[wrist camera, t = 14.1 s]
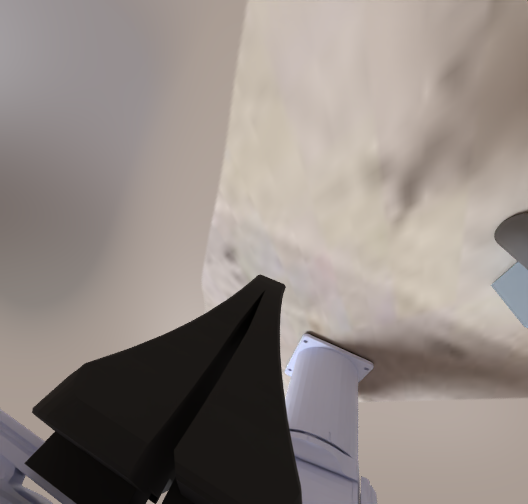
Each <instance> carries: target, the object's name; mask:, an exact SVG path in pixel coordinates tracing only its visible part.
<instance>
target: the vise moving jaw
mask: <svg viewBox="0 0 528 504" xmlns="http://www.w3.org/2000/svg"><path fill="white" fill-rule="evenodd" d="M495 240H496V242H497V243H498V244H499V245H500V246H501V247H502V248H504V249H505V250H506V251H507V252H508V253H509V254H510V255H511V256H513V257H514V258H515V259H516V260H517V261H518V262H517V263H516V264H515V265H514V266H512V267H511V268H510V269H509V270H508V271H507V272H505V273H504V274H503V275H502V276H501V277H500V278H499V279H497V280H496V281H495V282H494V283H493V284H492V285H491V286H492V287H493V289H494V290H495V291H496V292H497V294H498V295H499V296H500V297H501V299H502V300H503V301H504V302H505V304H506V305H507V306H508V307H509V309H510V310H511V311H512V312H513V314H514V315H515V316H516V317H517V319H518V320H519V321H520V322H521V324H522V325H523V326H524V327H526V328H528V213H524V214H519V215H516V216H513V217H511V218H509V219H507V220H505V221H504V222H503V223H501V224H500V225H499V226H498V228H497V229H496V231H495Z"/></svg>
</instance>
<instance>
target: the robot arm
mask: <svg viewBox="0 0 528 504" xmlns="http://www.w3.org/2000/svg"><path fill="white" fill-rule="evenodd" d="M285 288H286V287H285V285H284V284H282V283H280V282H277V281H275V280H272V279H270V278H268V277H265V276H263V275H258V276H257V277H256V278H254V279H253V280H252V281H251V282H250V283H249V284H247V285H246V286H245V287H244V288H242V289H241V290H240V291H238V292H237V293H236V294H234V295H233V296H232V297H230V298H229V299H227V300H226V301H224V302H223V303H221V304H220V305H218V306H217V307H215V308H213V309H212V310H210V311H209V312H207V313H205V314H204V315H202V316H200V317H198V318H196V319H195V320H193V321H191V322H189V323H187V324H185V325H183V326H181V327H179V328H177V329H175V330H173V331H170V332H168V333H166V334H164V335H162V336H159V337H157V338H154V339H152V340H149V341H147V342H144V343H142V344H139V345H137V346H134V347H132V348H129V349H127V350H124V351H121V352H118V353H115V354H112V355H109V356H106V357H103V358H100V359H97V360H94V361H91V362H88V363H85V364H84V365H83V366H81V367H80V368H79V369H78V370H77V371H75V372H73V373H72V374H71V375H70V376H68V377H67V378H66V379H65V380H64V381H63V382H62V383H60V384H59V385H58V386H57V387H56V388H55V389H54V390H53V391H51V392H50V393H49V394H48V395H47V396H46V397H45V398H44V399H42V400H41V401H40V402H39V403H38V404H37V405H36V406H35V407H34V408H33V411H32V413H33V414H34V415H36V416H37V417H38V418H39V419H41V420H42V421H43V422H44V423H46V424H47V425H48V426H49V427H51V428H52V429H53V430H55V432H54V433H53V434H52V435H51V436H50V438H48V439H47V440H46V441H44V440H43V439H41V438H40V437H38V436H37V435H36V434H34V433H33V432H32V431H30V430H29V429H27V428H26V427H25V426H23V425H22V424H20V423H19V422H18V421H16V420H15V419H14V418H12V417H11V416H9V415H8V414H7V413H5V412H4V411H3V410H1V409H0V504H53V503H52V502H51V501H49V500H48V499H47V498H45V497H44V496H42V495H40V494H38V493H36V492H34V491H32V490H30V489H28V488H25V487H23V486H22V482H23V480H24V478H25V475H26V476H28V477H29V478H30V479H31V480H33V481H34V482H35V483H36V484H38V485H39V486H40V487H42V488H43V489H44V490H45V491H47V492H48V493H49V494H50V495H52V496H53V497H54V498H56V499H57V500H58V501H59V502H61V503H62V504H146V502H147V500H148V499H149V500H150V501H152V502H153V503H155V504H156V503H157V501H158V500H159V497H160V496H161V494H162V493H164V492H166V491H168V492H167V494H166V496H165V498H164V500H163V502H162V504H377V497H376V492H375V490H374V489H373V487H372V486H371V485H370V482H369V480H368V479H367V478H364V477H362V476H361V494H359V493H360V492H359V490H360V489H359V488H360V487H359V463H358V383H359V382H360V381H361V380H362V379H363V378H364V377H365V376H366V375H367V374H368V373H369V372H370V371H371V370H372V369H373V368H374V366H373V363H372V362H370V361H368V360H366V359H363V358H361V357H359V356H357V355H355V354H352V353H350V352H348V351H346V350H343V349H341V348H339V347H337V346H334V345H332V344H330V343H328V342H325V341H323V340H321V339H319V338H316V337H314V336H312V335H310V334H304V335H303V336H302V338H301V340H300V342H299V344H298V346H297V348H296V350H295V352H294V354H293V356H292V357H291V359H290V361H289V363H288V365H287V367H286V369H285V373H286V374H287V375H289V376H291V379H290V383H289V386H288V390H287V394H286V398H285V396H284V389H283V381H282V371H281V358H280V313H281V304H282V298H283V293H284V290H285Z"/></svg>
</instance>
